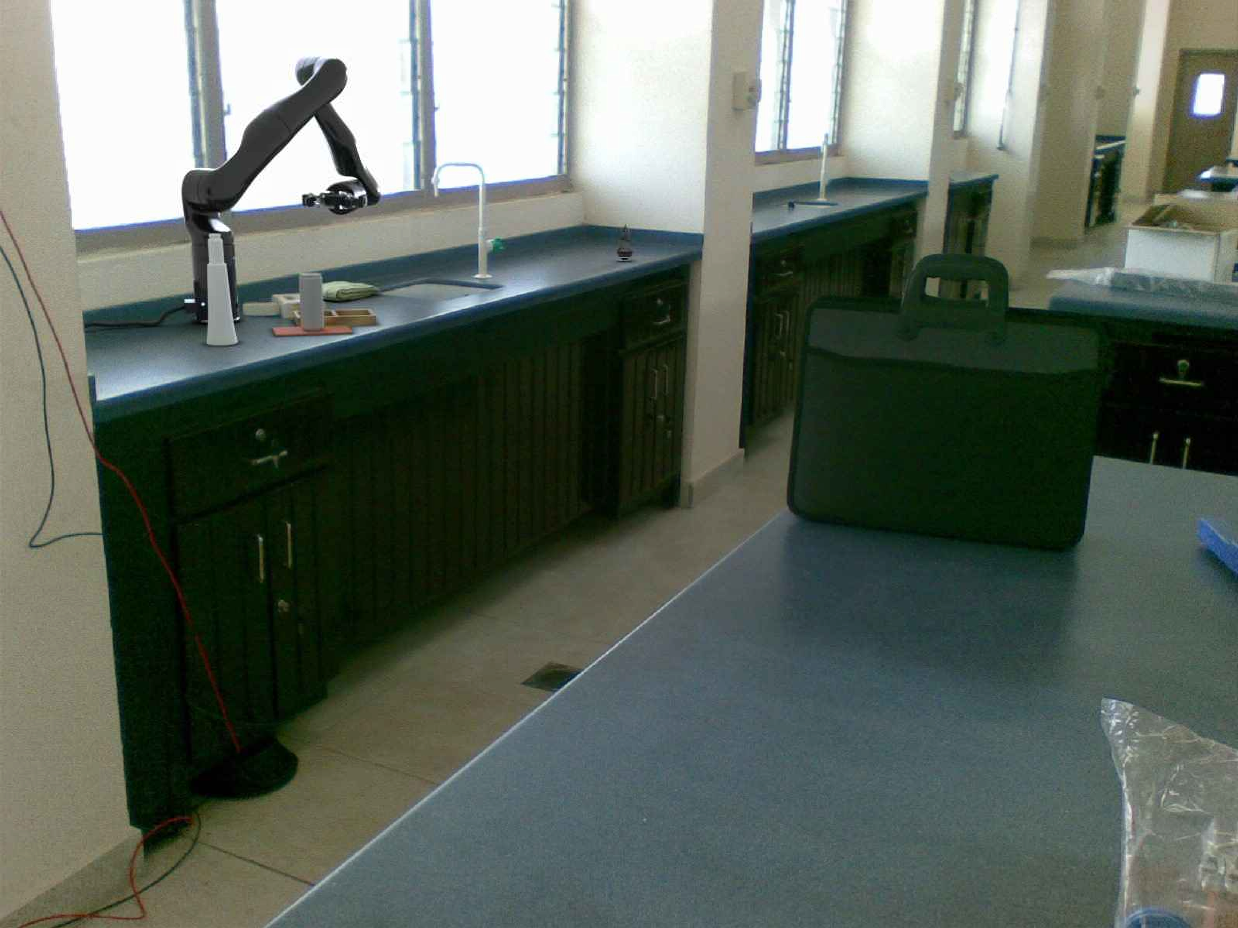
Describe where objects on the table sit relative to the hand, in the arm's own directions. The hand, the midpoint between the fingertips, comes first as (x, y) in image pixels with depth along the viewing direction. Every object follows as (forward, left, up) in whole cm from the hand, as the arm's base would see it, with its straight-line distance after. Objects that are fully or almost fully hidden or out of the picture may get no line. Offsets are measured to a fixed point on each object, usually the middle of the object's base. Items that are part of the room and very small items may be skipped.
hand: (327, 202), depth 271 cm
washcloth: (+6, +31, -26) cm, 41 cm away
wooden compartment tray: (0, -8, -26) cm, 27 cm away
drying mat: (-6, -18, -26) cm, 32 cm away
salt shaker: (+106, +93, -26) cm, 143 cm away
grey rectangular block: (-6, -18, -26) cm, 32 cm away
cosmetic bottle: (-25, -28, -26) cm, 46 cm away
